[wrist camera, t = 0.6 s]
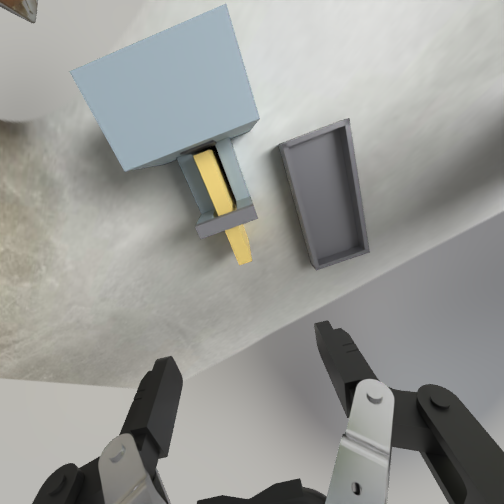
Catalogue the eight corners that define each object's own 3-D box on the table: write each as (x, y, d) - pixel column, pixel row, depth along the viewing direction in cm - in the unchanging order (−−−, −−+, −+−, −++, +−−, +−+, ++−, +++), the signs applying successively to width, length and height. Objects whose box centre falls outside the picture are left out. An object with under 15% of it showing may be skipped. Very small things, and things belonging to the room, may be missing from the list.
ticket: (214, 150, 25) (208, 149, 19) (248, 239, 30) (252, 260, 24) (202, 155, 25) (193, 155, 19) (238, 242, 30) (239, 265, 24)
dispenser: (229, 64, 22) (226, 3, 13) (269, 193, 27) (287, 214, 18) (134, 103, 23) (69, 71, 14) (191, 222, 28) (171, 256, 19)
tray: (340, 120, 25) (349, 117, 23) (361, 245, 31) (369, 252, 29) (278, 144, 25) (282, 143, 23) (311, 263, 32) (316, 270, 30)
